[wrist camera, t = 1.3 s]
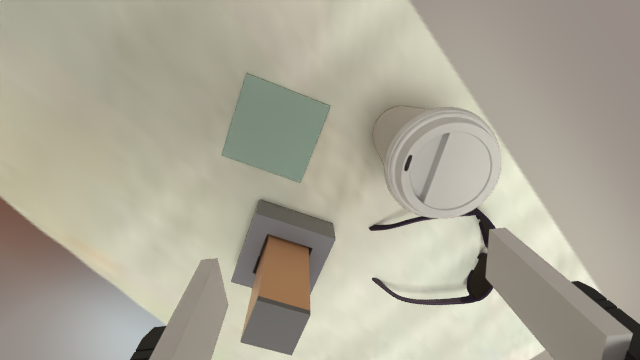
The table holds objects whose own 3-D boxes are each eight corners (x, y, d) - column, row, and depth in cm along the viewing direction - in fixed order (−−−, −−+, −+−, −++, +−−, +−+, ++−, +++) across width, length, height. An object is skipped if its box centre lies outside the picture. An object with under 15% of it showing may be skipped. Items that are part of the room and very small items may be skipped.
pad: (222, 154, 40) (221, 155, 40) (246, 73, 37) (246, 73, 37) (300, 182, 42) (300, 182, 41) (330, 106, 39) (330, 106, 38)
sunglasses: (480, 281, 48) (499, 304, 44) (372, 294, 48) (380, 320, 44) (485, 195, 44) (506, 211, 39) (366, 210, 44) (373, 228, 39)
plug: (260, 253, 45) (240, 342, 31) (272, 222, 43) (257, 300, 29) (295, 264, 46) (291, 355, 32) (308, 233, 44) (310, 315, 30)
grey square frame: (236, 263, 45) (230, 281, 41) (259, 199, 42) (255, 213, 38) (306, 283, 47) (306, 303, 43) (332, 223, 44) (335, 239, 40)
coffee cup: (394, 75, 38) (449, 84, 24) (455, 123, 40) (537, 158, 26) (343, 142, 40) (365, 187, 26) (403, 185, 42) (453, 247, 28)
